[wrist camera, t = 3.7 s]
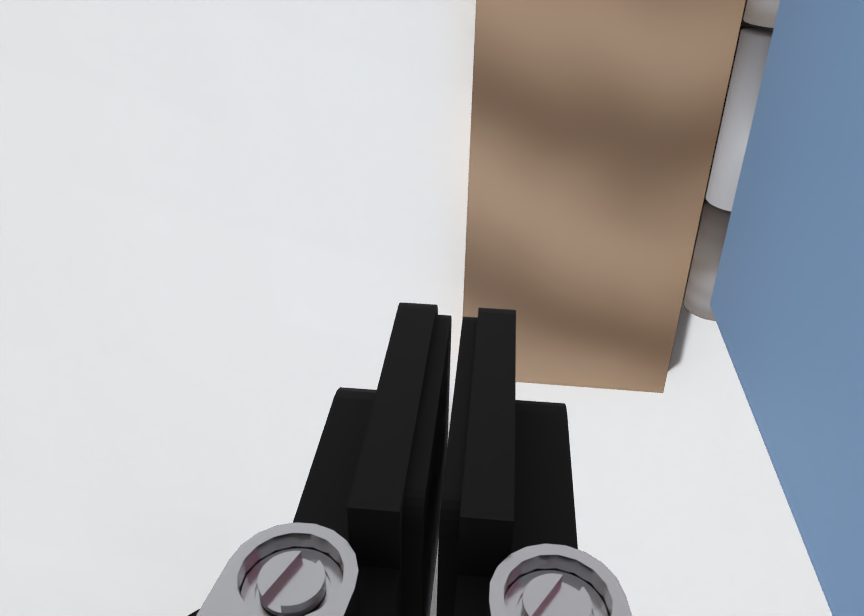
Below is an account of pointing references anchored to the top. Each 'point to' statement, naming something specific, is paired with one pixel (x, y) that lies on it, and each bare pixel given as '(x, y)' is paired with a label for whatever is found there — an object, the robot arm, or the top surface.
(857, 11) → the hinged blue panel
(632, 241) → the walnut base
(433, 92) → the top surface
